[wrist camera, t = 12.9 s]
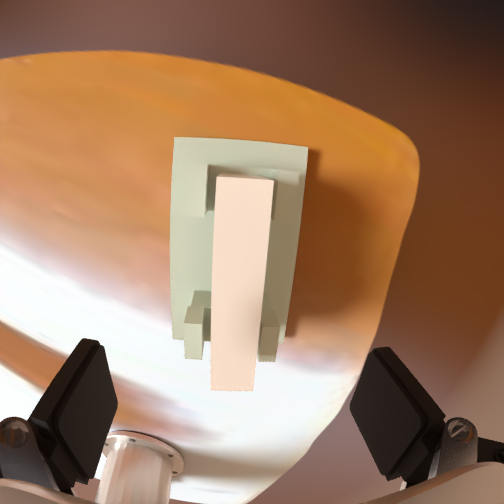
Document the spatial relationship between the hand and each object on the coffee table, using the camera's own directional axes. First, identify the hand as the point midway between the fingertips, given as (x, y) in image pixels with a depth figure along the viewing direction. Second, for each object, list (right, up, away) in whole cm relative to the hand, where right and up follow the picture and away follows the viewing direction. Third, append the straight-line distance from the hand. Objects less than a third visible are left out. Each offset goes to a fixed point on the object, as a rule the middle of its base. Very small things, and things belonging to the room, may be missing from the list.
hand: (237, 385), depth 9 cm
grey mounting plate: (-1, +5, +15) cm, 15 cm away
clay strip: (-1, +4, +11) cm, 11 cm away
